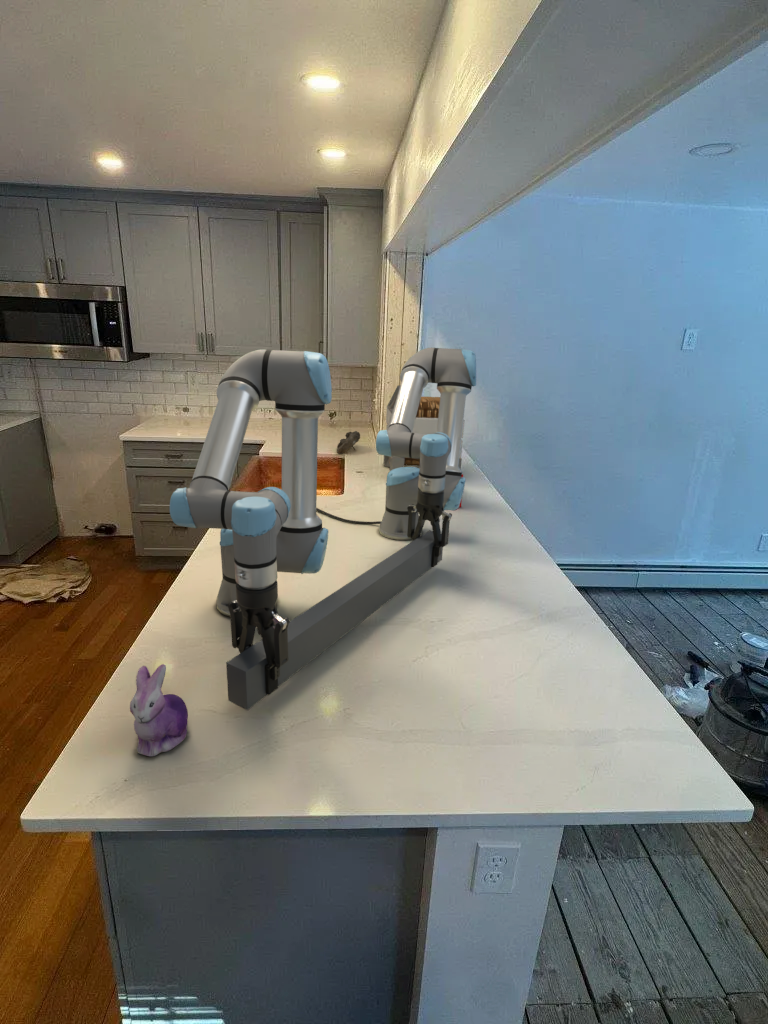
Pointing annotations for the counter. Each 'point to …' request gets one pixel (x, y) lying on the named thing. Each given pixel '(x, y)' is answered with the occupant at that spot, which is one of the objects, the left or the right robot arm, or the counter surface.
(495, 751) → the counter surface
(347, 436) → the fossil
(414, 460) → the grey bottle crate
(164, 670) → the figurine
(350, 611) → the beam
